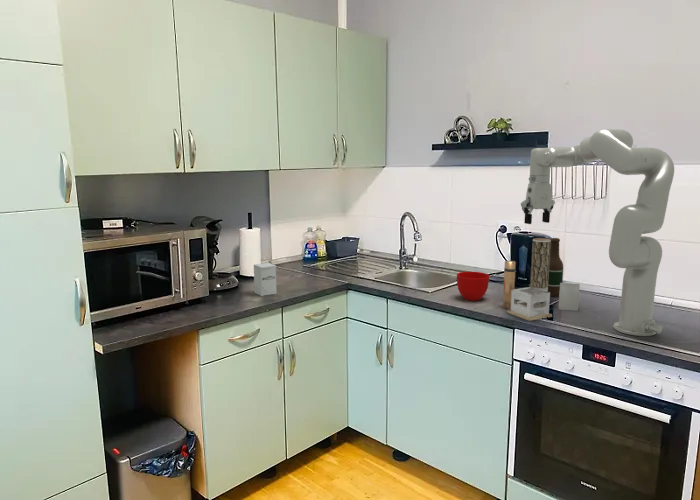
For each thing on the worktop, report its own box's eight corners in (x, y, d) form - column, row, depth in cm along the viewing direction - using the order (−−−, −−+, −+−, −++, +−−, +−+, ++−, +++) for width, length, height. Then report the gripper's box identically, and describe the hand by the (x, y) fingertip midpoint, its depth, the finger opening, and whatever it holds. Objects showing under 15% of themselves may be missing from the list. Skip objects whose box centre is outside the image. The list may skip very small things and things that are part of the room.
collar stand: (551, 316, 188) (553, 292, 187) (529, 321, 184) (530, 296, 182) (529, 309, 198) (530, 286, 197) (507, 312, 193) (508, 289, 192)
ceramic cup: (500, 297, 215) (501, 273, 214) (475, 304, 204) (476, 280, 203) (474, 291, 225) (474, 268, 223) (449, 298, 214) (450, 274, 212)
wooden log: (535, 303, 206) (539, 241, 202) (525, 298, 213) (529, 238, 208) (550, 301, 208) (554, 240, 204) (540, 297, 214) (543, 237, 210)
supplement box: (261, 296, 218) (260, 267, 216) (254, 292, 224) (253, 264, 222) (277, 294, 222) (276, 265, 220) (269, 290, 228) (268, 262, 226)
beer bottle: (565, 295, 218) (569, 238, 213) (553, 297, 214) (556, 240, 210) (550, 291, 224) (553, 236, 220) (537, 293, 220) (541, 237, 216)
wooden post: (515, 308, 200) (518, 262, 197) (507, 309, 198) (510, 263, 195) (508, 305, 203) (510, 260, 200) (500, 306, 201) (502, 261, 198)
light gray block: (578, 311, 196) (579, 285, 194) (558, 309, 198) (560, 283, 196) (577, 308, 199) (579, 283, 197) (558, 306, 201) (560, 281, 199)
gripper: (530, 180, 197) (527, 225, 200) (562, 179, 205) (559, 222, 208) (516, 180, 204) (513, 223, 207) (547, 179, 212) (545, 220, 215)
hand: (536, 223), depth 207 cm, fingers open, 9 cm apart
